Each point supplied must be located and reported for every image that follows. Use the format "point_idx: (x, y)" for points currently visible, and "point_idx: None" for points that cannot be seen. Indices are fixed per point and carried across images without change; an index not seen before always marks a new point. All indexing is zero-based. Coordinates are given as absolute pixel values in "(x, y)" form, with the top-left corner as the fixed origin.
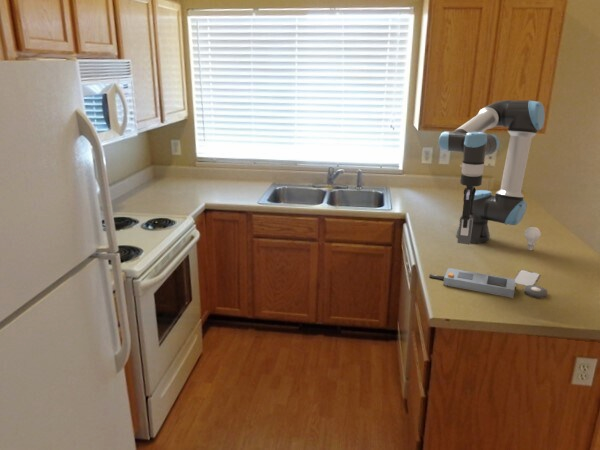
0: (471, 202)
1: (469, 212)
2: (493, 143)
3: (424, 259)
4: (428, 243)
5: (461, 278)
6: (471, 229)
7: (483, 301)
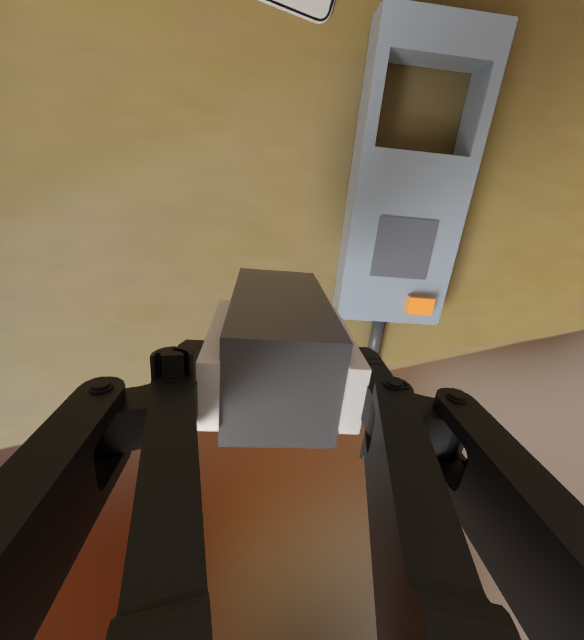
0: (448, 587)
1: (523, 453)
2: None
3: None
4: (15, 407)
5: (433, 262)
6: (285, 299)
7: (539, 169)
